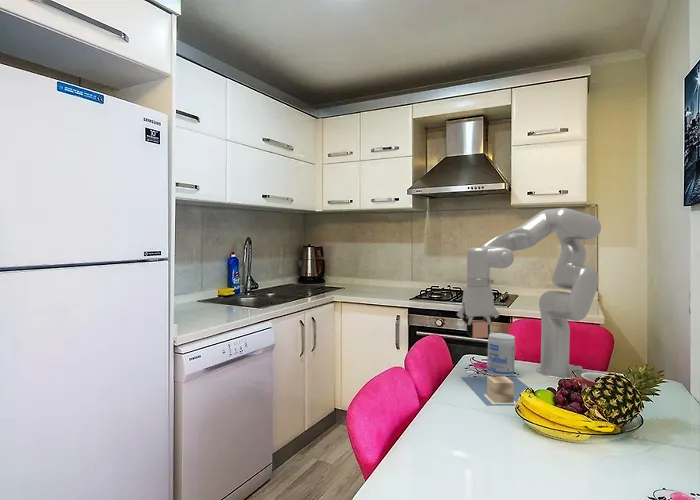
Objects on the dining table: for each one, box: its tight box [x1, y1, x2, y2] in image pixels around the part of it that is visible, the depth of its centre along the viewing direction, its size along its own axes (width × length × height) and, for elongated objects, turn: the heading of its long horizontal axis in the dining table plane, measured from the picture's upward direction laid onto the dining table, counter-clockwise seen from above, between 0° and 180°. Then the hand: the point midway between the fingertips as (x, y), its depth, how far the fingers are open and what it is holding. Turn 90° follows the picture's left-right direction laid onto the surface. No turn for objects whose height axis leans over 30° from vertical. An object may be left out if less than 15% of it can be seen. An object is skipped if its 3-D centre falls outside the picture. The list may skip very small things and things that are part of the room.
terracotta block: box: [471, 319, 489, 339], centre depth 145 cm, size 5×5×5 cm
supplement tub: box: [486, 332, 516, 377], centre depth 157 cm, size 10×10×15 cm
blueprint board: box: [460, 376, 530, 407], centre depth 138 cm, size 20×26×1 cm
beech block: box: [486, 376, 514, 403], centre depth 130 cm, size 6×6×6 cm
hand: (478, 335), depth 145 cm, fingers closed on terracotta block, 4 cm apart
